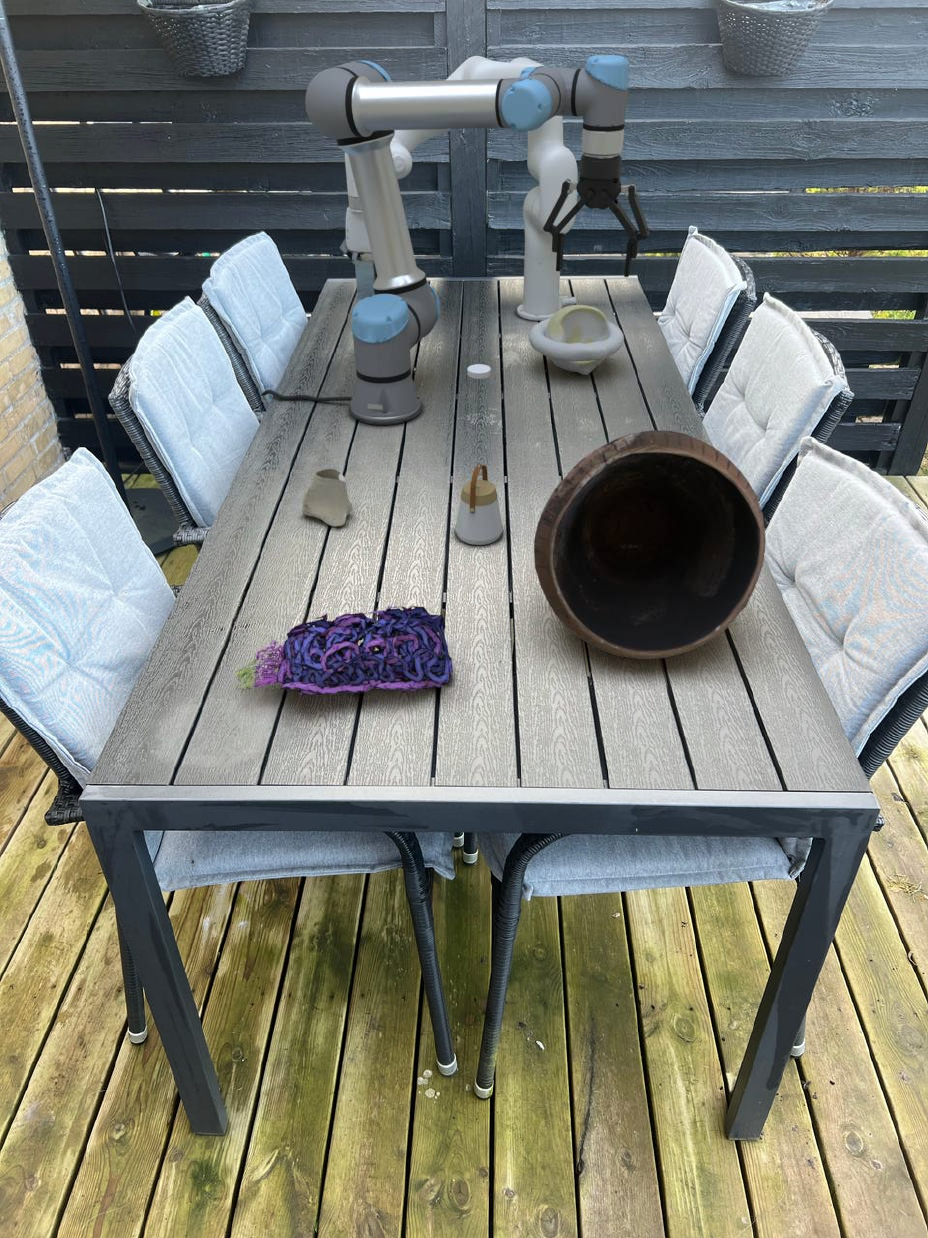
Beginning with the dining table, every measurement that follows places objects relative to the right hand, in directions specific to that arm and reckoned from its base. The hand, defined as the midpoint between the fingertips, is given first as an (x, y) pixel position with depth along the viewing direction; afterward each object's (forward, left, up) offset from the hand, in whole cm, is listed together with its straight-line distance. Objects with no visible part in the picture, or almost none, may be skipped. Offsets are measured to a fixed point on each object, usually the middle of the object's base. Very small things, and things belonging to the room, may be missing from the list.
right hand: (370, 278), depth 233 cm
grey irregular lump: (+26, +90, -13) cm, 94 cm away
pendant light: (+1, +102, -13) cm, 103 cm away
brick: (0, 0, -4) cm, 4 cm away
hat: (-40, +39, -13) cm, 58 cm away
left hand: (-34, +61, +16) cm, 72 cm away
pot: (-16, +130, -13) cm, 131 cm away
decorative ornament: (+30, +135, -13) cm, 139 cm away
